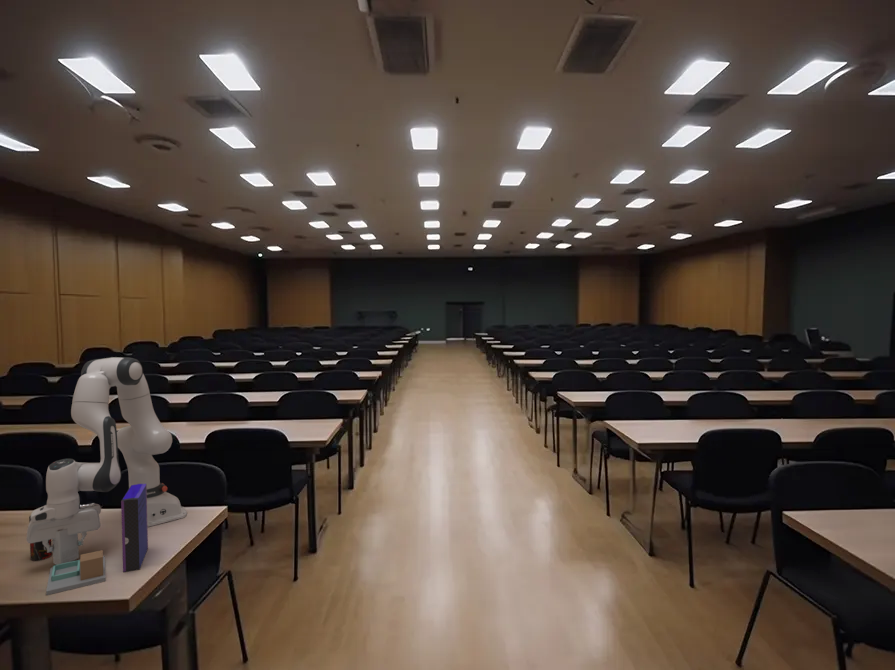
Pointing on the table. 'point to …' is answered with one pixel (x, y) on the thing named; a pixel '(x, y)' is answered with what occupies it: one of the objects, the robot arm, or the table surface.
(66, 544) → the skincare box
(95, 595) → the table surface
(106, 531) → the table surface
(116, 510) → the table surface
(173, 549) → the table surface
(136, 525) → the cereal box
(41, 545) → the deodorant
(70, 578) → the grey board with block
